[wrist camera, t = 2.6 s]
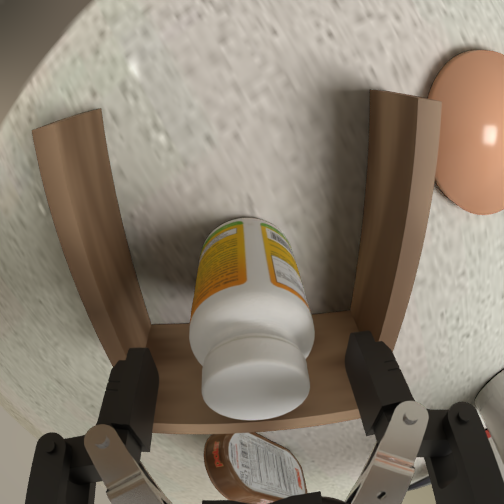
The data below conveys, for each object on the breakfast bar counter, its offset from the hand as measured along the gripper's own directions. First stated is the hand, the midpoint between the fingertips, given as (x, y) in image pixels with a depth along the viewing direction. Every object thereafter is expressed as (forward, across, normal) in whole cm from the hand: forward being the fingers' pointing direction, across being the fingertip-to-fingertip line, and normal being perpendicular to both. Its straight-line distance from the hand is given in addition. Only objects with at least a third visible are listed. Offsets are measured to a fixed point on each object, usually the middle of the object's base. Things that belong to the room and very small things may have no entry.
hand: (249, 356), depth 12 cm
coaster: (+8, -16, -8) cm, 20 cm away
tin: (+8, 0, +24) cm, 26 cm away
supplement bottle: (+8, 0, 0) cm, 8 cm away
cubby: (+8, 0, -1) cm, 8 cm away
